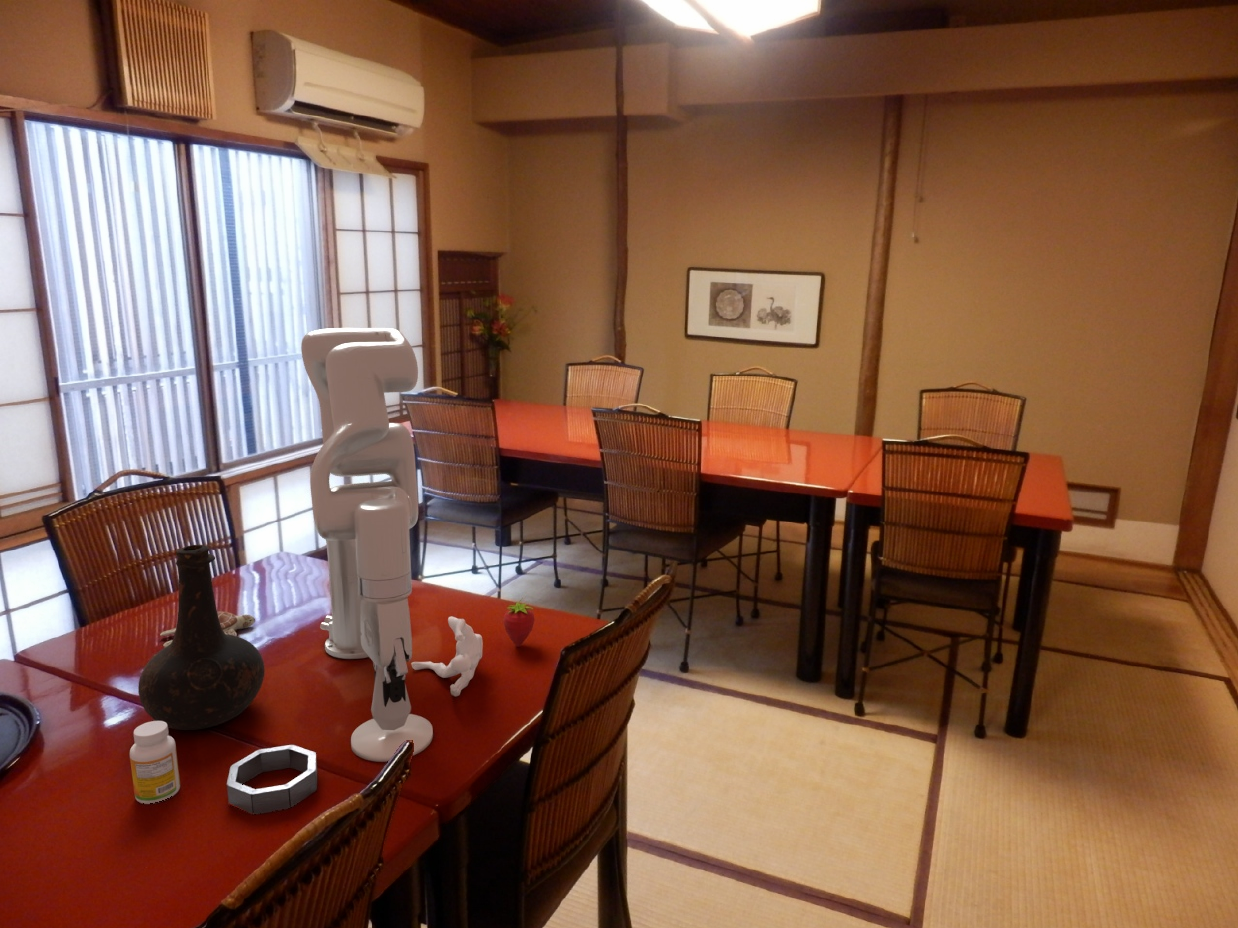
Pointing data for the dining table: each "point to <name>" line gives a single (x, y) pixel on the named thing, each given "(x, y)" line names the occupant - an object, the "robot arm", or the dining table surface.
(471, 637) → the person figurine
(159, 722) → the supplement bottle
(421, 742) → the ceramic coaster
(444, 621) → the dining table surface
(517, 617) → the strawberry
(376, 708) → the salt shaker
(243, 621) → the decorative turtle
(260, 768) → the metal ring
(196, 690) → the glass bottle
